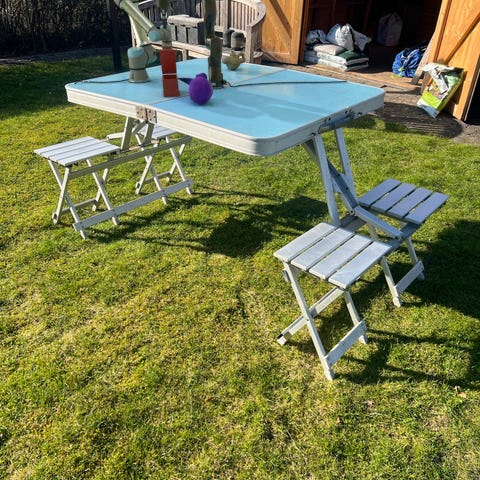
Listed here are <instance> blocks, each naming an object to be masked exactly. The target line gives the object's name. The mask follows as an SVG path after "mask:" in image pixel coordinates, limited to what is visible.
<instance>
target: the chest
mask: <svg viewBox="0 0 480 480" xmlns="http://www.w3.org/2000/svg"><path fill="white" fill-rule="evenodd" d="M178 78H179V77H178V73H177V74H161V81H162V91H163V97H164V98H174V97H180V89H179V79H178Z"/></svg>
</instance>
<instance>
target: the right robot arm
mask: <svg viewBox="0 0 480 480" xmlns="http://www.w3.org/2000/svg"><path fill="white" fill-rule="evenodd" d="M155 1H156V7H157V8H158V9H159V8H160V9H161V10H160V11H159V12H160V18H161V22H162V25H163V28H164V29H167V25H168V23H167V22H168V20H167V19H168V11H167V10H166V8H170V0H155ZM201 7H202V9H201V10H202V15H203V26H204V27H203V28H204V46H205V48H206V49H207V50H208V51H209V56H207V77H208V80H209V81H210V83H211V84H212V88H213V90H218V89H219V90H220V89H223V88H224V86H226V85H227V84H228V85H229V87H230V88H238V87H243V86H244V87H245V86H257V85H275V84H330V83H333V84H335V83H337V84H338V83H348V80H333V81H278V82H276V81H275V82H257V83H246V84H245V83H243V84H238V85H231V83H230V82H228V81H227V80H226V79H225V78H224V73H223V70H222V59H223V42H222V41H223V40H222V38H221V37H220V36H217V35H216V30H215V27H216V26H215V24H216V21H217V16H218V6H217V1H216V0H201Z"/></svg>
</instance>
